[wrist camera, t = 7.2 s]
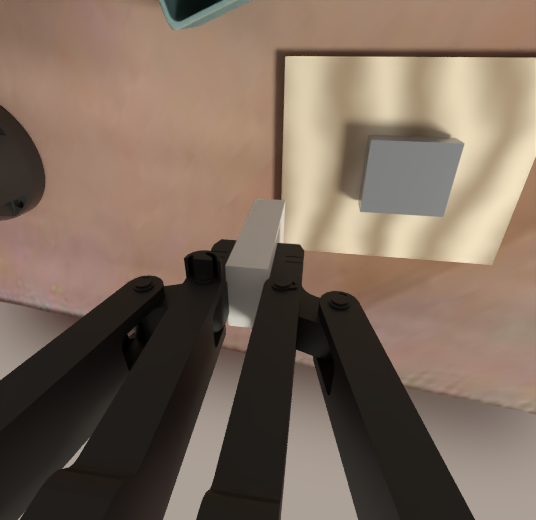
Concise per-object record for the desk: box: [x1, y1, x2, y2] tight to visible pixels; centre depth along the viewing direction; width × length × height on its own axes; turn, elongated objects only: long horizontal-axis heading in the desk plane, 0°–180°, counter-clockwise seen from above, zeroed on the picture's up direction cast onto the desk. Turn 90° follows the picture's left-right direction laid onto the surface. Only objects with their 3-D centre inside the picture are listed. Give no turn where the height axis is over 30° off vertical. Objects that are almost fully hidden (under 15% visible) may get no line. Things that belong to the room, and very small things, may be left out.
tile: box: [358, 135, 465, 217], centre depth 33 cm, size 3×7×8 cm
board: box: [281, 56, 536, 265], centre depth 35 cm, size 24×20×1 cm
